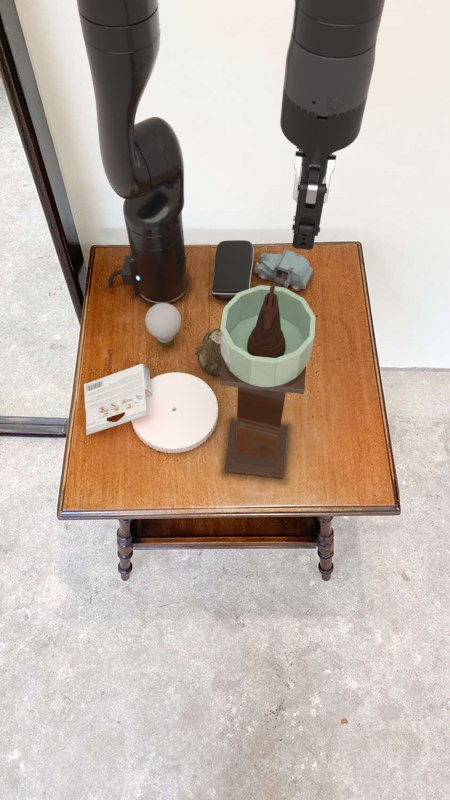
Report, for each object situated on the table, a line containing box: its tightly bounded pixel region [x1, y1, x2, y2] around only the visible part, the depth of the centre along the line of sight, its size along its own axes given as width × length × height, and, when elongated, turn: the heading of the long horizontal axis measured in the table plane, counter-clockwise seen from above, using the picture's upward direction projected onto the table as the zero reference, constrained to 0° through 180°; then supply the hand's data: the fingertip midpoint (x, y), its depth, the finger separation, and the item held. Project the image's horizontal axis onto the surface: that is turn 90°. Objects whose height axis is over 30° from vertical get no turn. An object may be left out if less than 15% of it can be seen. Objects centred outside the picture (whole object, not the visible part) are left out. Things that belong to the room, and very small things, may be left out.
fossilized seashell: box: [194, 327, 223, 377], centre depth 109 cm, size 8×7×10 cm
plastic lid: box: [130, 371, 219, 454], centre depth 104 cm, size 14×14×2 cm
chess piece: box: [247, 284, 286, 358], centre depth 73 cm, size 5×5×10 cm
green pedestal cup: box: [218, 284, 317, 480], centre depth 88 cm, size 11×11×34 cm
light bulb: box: [144, 303, 182, 350], centre depth 108 cm, size 6×6×10 cm
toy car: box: [253, 249, 314, 292], centre depth 117 cm, size 6×10×5 cm, turn 66°
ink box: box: [83, 363, 152, 436], centre depth 103 cm, size 2×11×10 cm
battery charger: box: [211, 239, 255, 301], centre depth 118 cm, size 7×4×11 cm
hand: (305, 217), depth 71 cm, fingers open, 8 cm apart
